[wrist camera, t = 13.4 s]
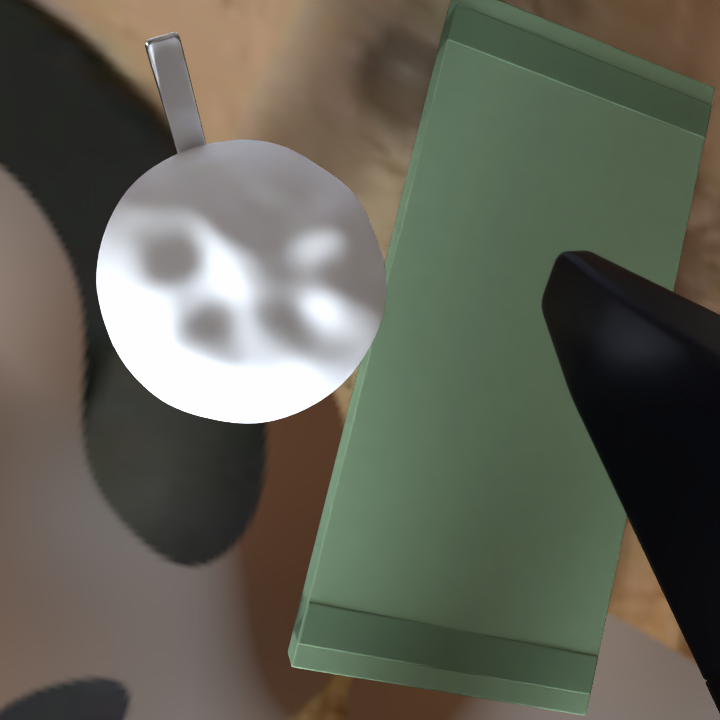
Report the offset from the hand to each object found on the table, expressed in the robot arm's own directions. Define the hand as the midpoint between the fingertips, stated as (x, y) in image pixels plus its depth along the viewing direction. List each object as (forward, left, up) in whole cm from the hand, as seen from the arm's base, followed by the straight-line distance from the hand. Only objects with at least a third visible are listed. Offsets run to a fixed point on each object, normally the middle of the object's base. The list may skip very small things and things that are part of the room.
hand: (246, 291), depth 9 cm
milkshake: (+1, 0, -10) cm, 10 cm away
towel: (+2, -8, -10) cm, 13 cm away
